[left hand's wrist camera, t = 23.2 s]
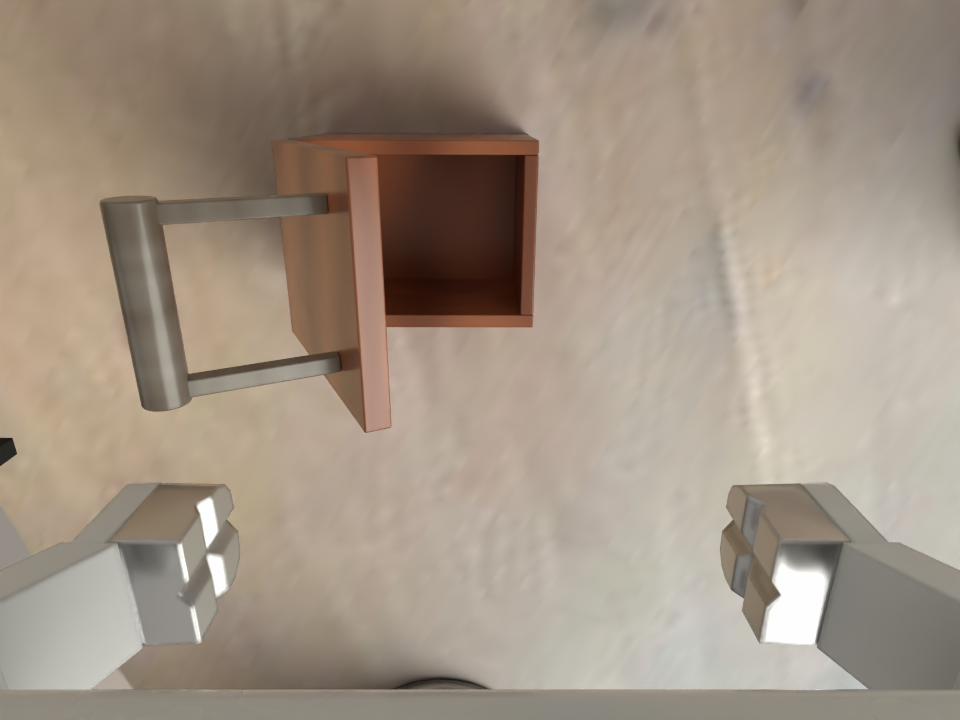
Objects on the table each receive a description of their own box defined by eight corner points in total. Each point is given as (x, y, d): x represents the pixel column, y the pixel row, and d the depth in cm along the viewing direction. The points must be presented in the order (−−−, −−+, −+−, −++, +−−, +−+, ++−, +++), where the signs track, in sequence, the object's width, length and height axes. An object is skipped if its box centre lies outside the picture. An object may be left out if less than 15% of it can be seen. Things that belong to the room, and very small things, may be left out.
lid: (377, 155, 21) (82, 163, 17) (392, 428, 24) (150, 480, 21) (293, 139, 32) (102, 142, 28) (311, 328, 35) (144, 352, 32)
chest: (526, 134, 40) (539, 140, 32) (522, 286, 44) (532, 327, 35) (325, 133, 40) (285, 138, 32) (337, 286, 44) (304, 327, 35)
